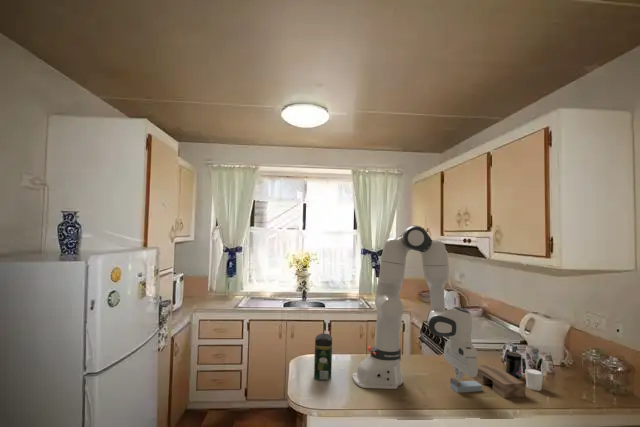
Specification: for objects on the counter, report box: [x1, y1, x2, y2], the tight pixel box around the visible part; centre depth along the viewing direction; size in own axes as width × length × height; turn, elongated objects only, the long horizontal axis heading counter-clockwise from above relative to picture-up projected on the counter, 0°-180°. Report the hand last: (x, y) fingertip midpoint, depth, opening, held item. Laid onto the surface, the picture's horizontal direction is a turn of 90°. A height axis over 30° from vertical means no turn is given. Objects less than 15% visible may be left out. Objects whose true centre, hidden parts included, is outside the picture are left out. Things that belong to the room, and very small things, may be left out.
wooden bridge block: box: [472, 364, 526, 399], centre depth 154 cm, size 10×20×6 cm, turn 12°
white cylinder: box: [524, 368, 544, 391], centre depth 155 cm, size 7×7×7 cm
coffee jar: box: [313, 333, 333, 381], centre depth 159 cm, size 10×8×19 cm
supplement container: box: [505, 351, 523, 380], centre depth 167 cm, size 7×7×10 cm
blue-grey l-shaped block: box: [449, 377, 483, 394], centre depth 151 cm, size 12×5×4 cm, turn 103°
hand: (458, 378), depth 150 cm, fingers closed
